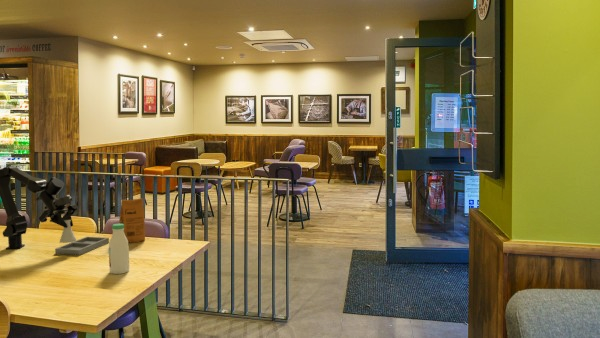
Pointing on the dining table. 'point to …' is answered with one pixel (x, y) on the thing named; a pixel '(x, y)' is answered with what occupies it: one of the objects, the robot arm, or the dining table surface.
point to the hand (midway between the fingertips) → (69, 226)
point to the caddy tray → (82, 246)
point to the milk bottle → (118, 250)
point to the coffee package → (133, 220)
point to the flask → (67, 234)
